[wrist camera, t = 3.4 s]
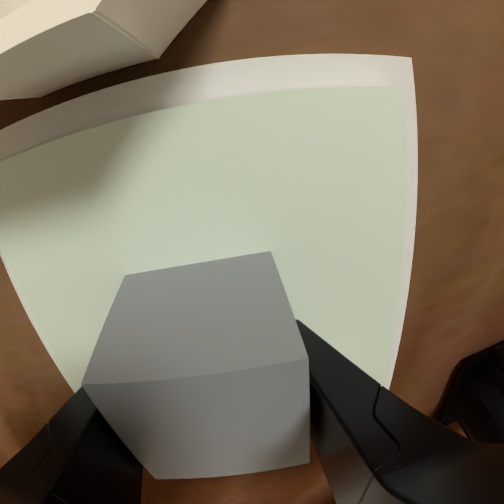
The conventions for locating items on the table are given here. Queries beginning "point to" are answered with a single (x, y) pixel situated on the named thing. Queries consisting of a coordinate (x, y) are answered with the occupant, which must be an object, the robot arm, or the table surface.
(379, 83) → the mat
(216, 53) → the table surface
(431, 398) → the table surface
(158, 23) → the bowl
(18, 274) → the cover sheet
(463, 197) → the table surface
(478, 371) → the robot arm
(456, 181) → the table surface
